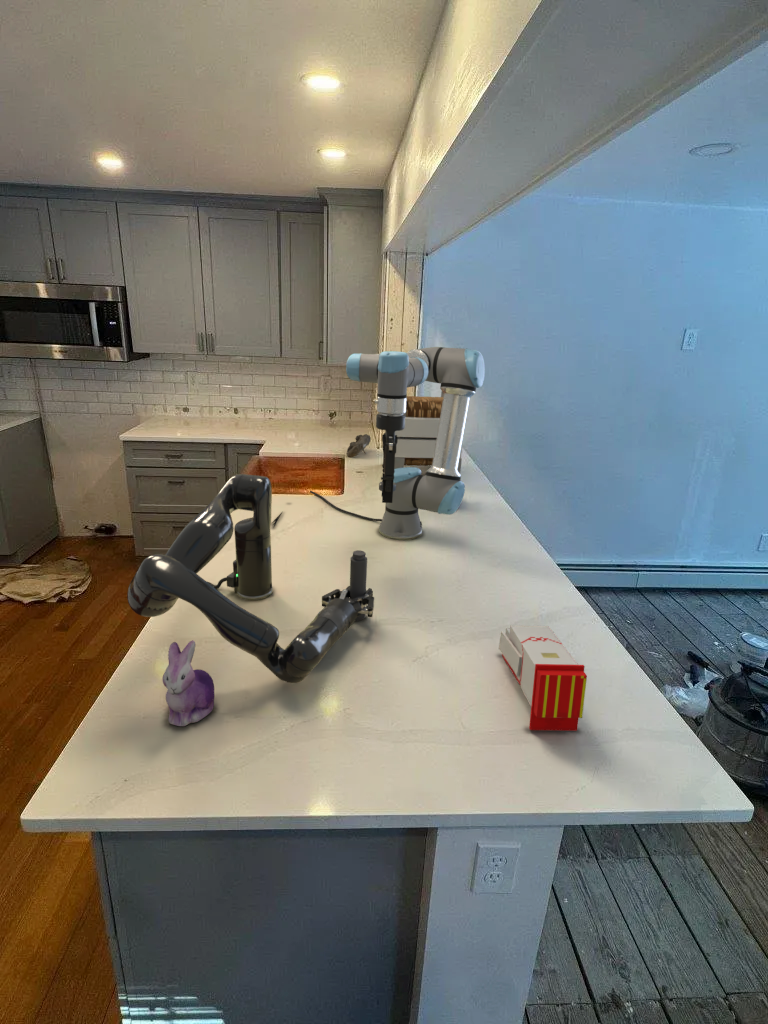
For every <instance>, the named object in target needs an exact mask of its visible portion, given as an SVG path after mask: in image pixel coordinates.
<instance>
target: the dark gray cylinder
mask: <svg viewBox="0 0 768 1024" xmlns="http://www.w3.org/2000/svg"><path fill="white" fill-rule="evenodd" d="M349 564H350V565H349V570H350V571H349V586H350V597H349V598H351V599H354V598H356V597H357V596H362V595H364V593H365V592H366V591H367V579H368V578H367V577H368V576H367V573H368V557H367V556H366V552H365V551H364V550H361V549H359V550H354V551H353V552H352V555H351V556H350V563H349ZM365 607H366V606H364V607H363V609H364V608H365ZM365 618H366V614H361V615H360V616H358V617H356V619H355V621H354V622H357V621H358V622H359V621H362V620H365Z"/></svg>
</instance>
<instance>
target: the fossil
mask: <svg viewBox="0 0 768 1024" xmlns="http://www.w3.org/2000/svg"><path fill="white" fill-rule="evenodd" d="M354 440H355V441H351V442H350V443H349V446H348V447H347V450H346V456H347V457H348V458H352V457H355V456H357V455H359V454H360V453H361V452H363V453H364V454H366V452H365V449H366V448H367V446H369V445H370V443H371V440H372V439H371V436H370V434H367V433H365V434H358V435H356V436H355V438H354Z"/></svg>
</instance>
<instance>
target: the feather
mask: <svg viewBox="0 0 768 1024" xmlns="http://www.w3.org/2000/svg"><path fill="white" fill-rule="evenodd" d="M282 514H283V512H280V514H279V515H278V516H277V517H275V519H274V520H273V521H271V525H273V529H274V528H275V526H276V524H277V523H278V521H279V520H280V518H281V516H282Z"/></svg>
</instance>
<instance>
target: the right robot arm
mask: <svg viewBox="0 0 768 1024" xmlns="http://www.w3.org/2000/svg"><path fill="white" fill-rule="evenodd" d="M485 365H486V364H485V360H484V357H483V354H482V353H481V352H480V351H479V350H477V349H471V348H461V347H460V348H459V347H445V346H430V347H423V348H416V349H415V348H414V349H410V350H408V351H407V352H405V351H397V350H396V351H395V350H393V351H392V350H384V351H381V352H379V353H363V352H360V353H351V354H349V356H348V358H347V360H346V365H345V371H346V375H347V377H348V379H349V380H351V381H353V382H359V383H370V384H377V393H376V394H377V395H376V396H377V397H376V398H377V399H375V400H374V404H376V412H377V414H376V415H375V417H376V418H375V427H376V429H378V430H380V431H384V433H383V434H381V443H382V453H383V455H382V457H383V458H382V476H381V477H380V480H381V482H382V481H383V491H381V498H382V499H381V503H383V504H384V505H385V507H384V508H385V509H384V513H383V515H382V518H374V517H369V516H365V515H361V514H357V513H355V512H351V511H348V510H345V509H343V508H340V507H338V506H336V505H335V504H333V503H332V502H330V501H328V500H327V499H326V498H325V497H324V496H322V495H321V494H319V493H317V492H314V491H313V490H309V493H310V494H312V495H314V496H316V497H318V498H320V499H322V500H323V501H324V502H325V503H326V504H327V505H329V506H331V507H332V508H333V509H335V510H337V511H339V512H342V513H344V514H346V515H350V516H354V517H357V518H360V519H362V520H363V519H364V520H366V521H367V520H368V521H372V522H379V526H378V533H379V534H380V535H381V536H382V537H385V538H387V539H389V540H395V541H410V540H415V539H418V538H420V537H421V536H422V535H423V523H422V520H421V518H420V515H419V510H421V511H422V510H423V511H427V512H432V513H437V514H439V515H442V514H443V515H453V514H455V513H456V512H457V511H458V509H459V508H460V506H461V504H462V502H463V499H464V496H465V490H466V485H465V483H464V481H462V480H461V479H462V475H461V474H459V472H458V470H457V469H458V463H459V457H460V452H461V446H462V447H463V443H462V441H464V440H463V439H464V433H465V428H466V422H467V416H468V410H469V406H470V405H469V403H470V399H471V398H472V397H473V396H474V395H476V391H477V389H479V388H481V387H482V386H483V384H484V382H485V375H486V366H485ZM425 382H429V383H435V384H440V388H439V389H440V390H441V392H443V394H444V396H443V402H442V408H441V414H440V420H439V426H438V432H437V438H436V444H435V450H434V457H433V463H432V465H430V466H429V468H428V469H426V472H425V474H422V470H421V468H419V467H415V466H411V467H410V466H406V467H405V466H404V468H397V469H394V465H395V453H396V444H397V442H398V437H397V435H395V431H401V430H403V429H404V428H405V415H404V413H405V412H406V400H407V397H406V394H408V393H407V391H408V388H412V387H414V388H415V387H418V386H419V385H422V384H424V383H425ZM393 482H394V483H396V490H395V491H393Z"/></svg>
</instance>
